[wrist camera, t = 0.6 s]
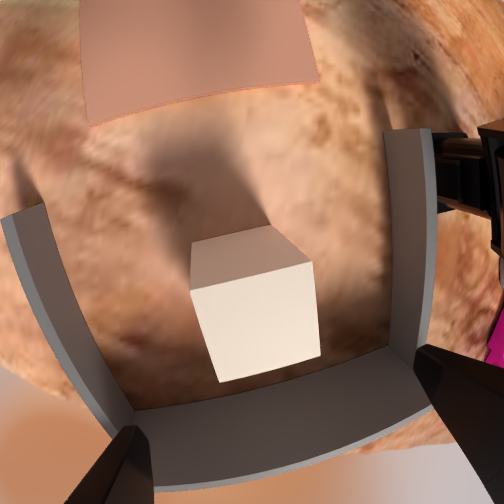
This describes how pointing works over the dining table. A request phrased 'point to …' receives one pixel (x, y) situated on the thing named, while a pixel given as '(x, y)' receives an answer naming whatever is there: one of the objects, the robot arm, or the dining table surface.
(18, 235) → the open u-shaped enclosure
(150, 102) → the terracotta mat
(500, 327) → the toy block
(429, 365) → the robot arm
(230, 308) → the ivory block
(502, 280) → the pillar candle
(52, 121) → the dining table surface
